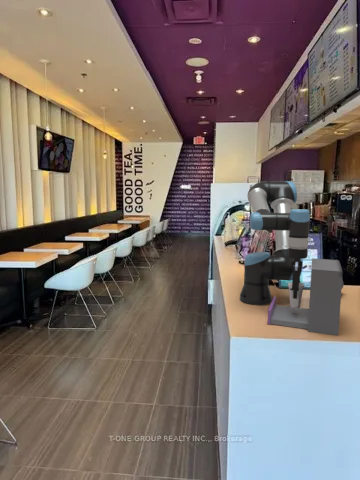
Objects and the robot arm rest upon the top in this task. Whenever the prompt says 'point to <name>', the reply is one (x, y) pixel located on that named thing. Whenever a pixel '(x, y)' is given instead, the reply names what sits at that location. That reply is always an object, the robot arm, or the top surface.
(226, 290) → the top surface
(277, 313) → the sealer tray
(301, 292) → the smoothie
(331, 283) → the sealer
